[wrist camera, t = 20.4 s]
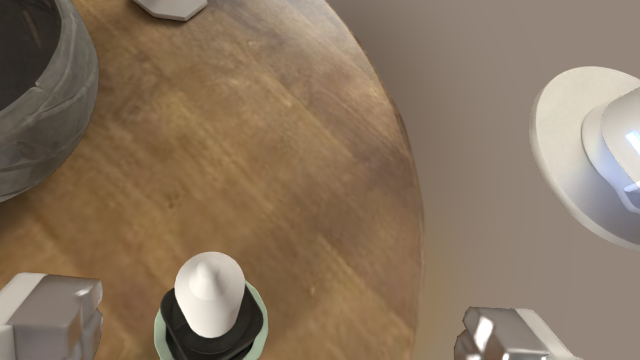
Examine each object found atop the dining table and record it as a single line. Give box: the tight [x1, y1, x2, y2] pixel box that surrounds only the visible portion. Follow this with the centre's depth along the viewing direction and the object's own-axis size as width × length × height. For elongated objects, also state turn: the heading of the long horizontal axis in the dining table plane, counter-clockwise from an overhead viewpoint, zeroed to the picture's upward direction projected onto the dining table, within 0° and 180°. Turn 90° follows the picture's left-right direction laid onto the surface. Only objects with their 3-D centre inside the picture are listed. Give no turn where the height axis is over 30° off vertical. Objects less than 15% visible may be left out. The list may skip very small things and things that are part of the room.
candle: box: [160, 252, 264, 360], centre depth 27 cm, size 5×5×25 cm
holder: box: [154, 280, 268, 360], centre depth 36 cm, size 8×8×6 cm
